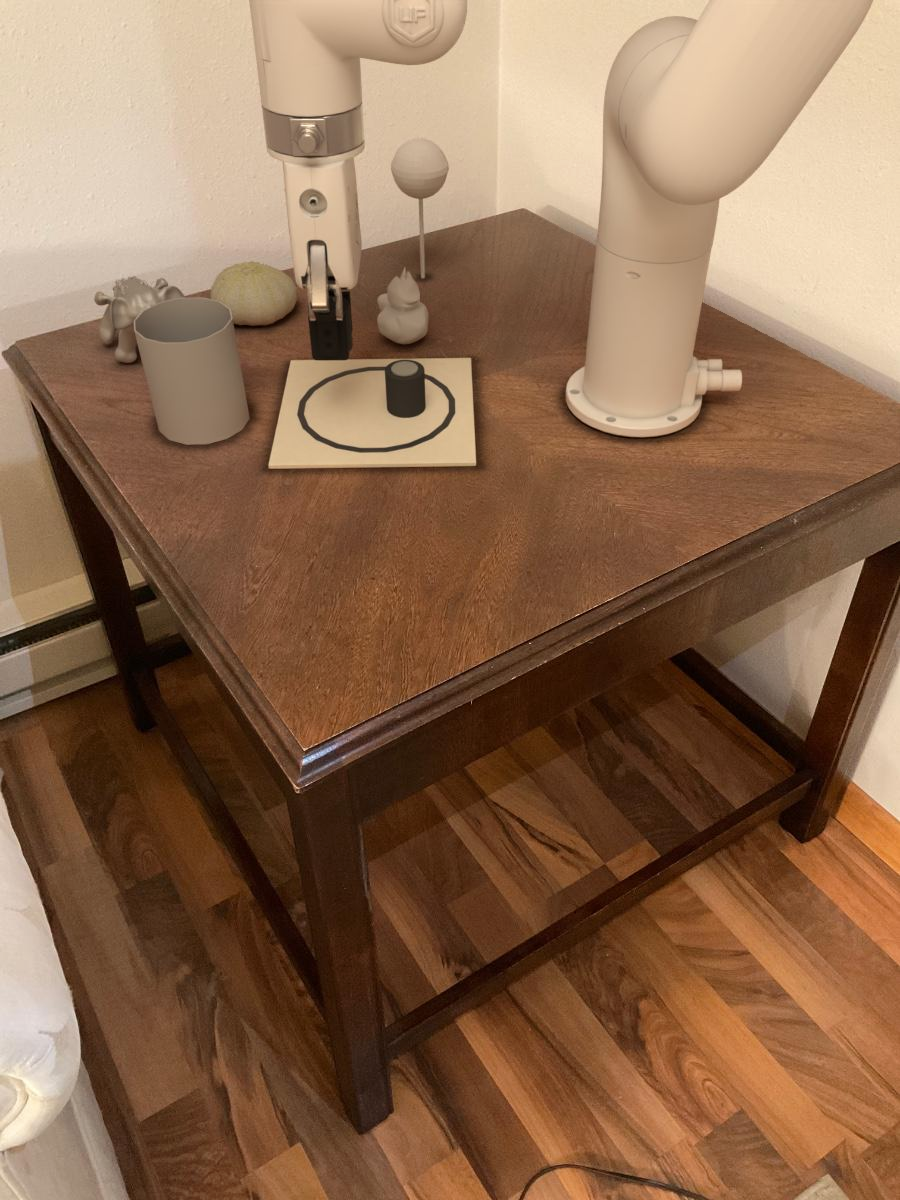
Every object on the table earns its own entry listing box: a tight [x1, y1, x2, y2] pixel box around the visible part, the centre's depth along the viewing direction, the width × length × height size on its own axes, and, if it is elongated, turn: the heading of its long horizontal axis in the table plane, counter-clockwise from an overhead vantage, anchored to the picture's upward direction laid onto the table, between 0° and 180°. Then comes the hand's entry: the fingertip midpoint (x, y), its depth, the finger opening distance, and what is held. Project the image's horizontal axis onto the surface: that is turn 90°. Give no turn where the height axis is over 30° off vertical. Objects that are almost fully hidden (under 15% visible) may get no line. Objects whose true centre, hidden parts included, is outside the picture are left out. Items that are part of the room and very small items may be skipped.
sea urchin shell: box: [209, 260, 298, 327], centre depth 105 cm, size 9×8×8 cm
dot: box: [307, 296, 354, 352], centre depth 86 cm, size 4×4×4 cm
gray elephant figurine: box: [93, 275, 186, 364], centre depth 98 cm, size 9×12×8 cm
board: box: [268, 357, 477, 470], centre depth 92 cm, size 18×18×1 cm
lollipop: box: [390, 137, 450, 279], centre depth 107 cm, size 6×6×15 cm
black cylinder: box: [385, 360, 426, 418], centre depth 90 cm, size 4×4×4 cm
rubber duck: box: [376, 266, 430, 345], centre depth 100 cm, size 5×7×8 cm
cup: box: [134, 296, 251, 446], centre depth 88 cm, size 8×8×10 cm
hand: (332, 344), depth 87 cm, fingers closed on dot, 3 cm apart
